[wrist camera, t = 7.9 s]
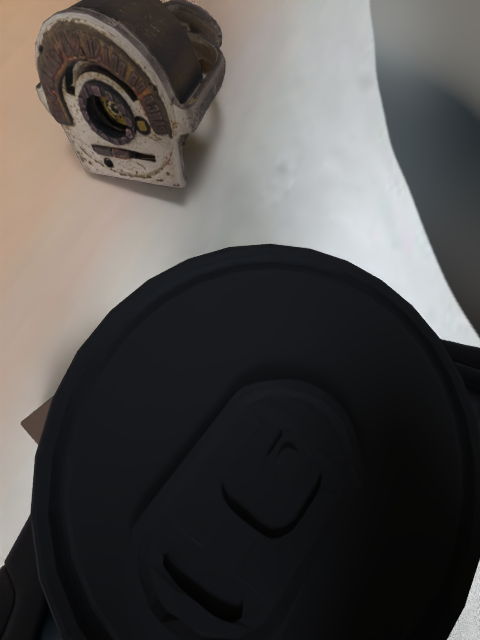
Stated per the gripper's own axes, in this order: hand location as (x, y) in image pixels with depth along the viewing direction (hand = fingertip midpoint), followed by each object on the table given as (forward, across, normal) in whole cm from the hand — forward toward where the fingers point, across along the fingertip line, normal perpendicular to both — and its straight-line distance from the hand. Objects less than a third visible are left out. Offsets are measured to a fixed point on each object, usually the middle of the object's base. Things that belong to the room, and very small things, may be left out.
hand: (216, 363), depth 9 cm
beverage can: (+4, 0, +6) cm, 7 cm away
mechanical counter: (+16, -4, -6) cm, 18 cm away
